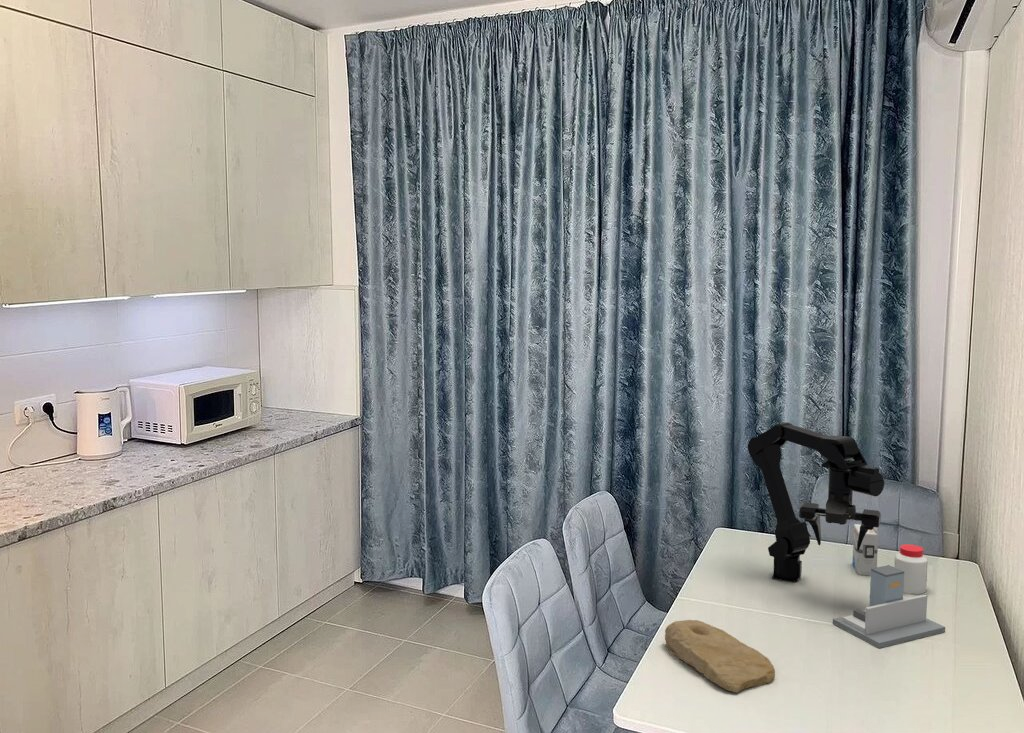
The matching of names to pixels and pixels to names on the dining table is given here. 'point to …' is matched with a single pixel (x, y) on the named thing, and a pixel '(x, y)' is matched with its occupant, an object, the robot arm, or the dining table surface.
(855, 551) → the ink box
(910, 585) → the pill bottle
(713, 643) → the stone
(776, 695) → the dining table surface
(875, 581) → the block
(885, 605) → the grey holder stand
